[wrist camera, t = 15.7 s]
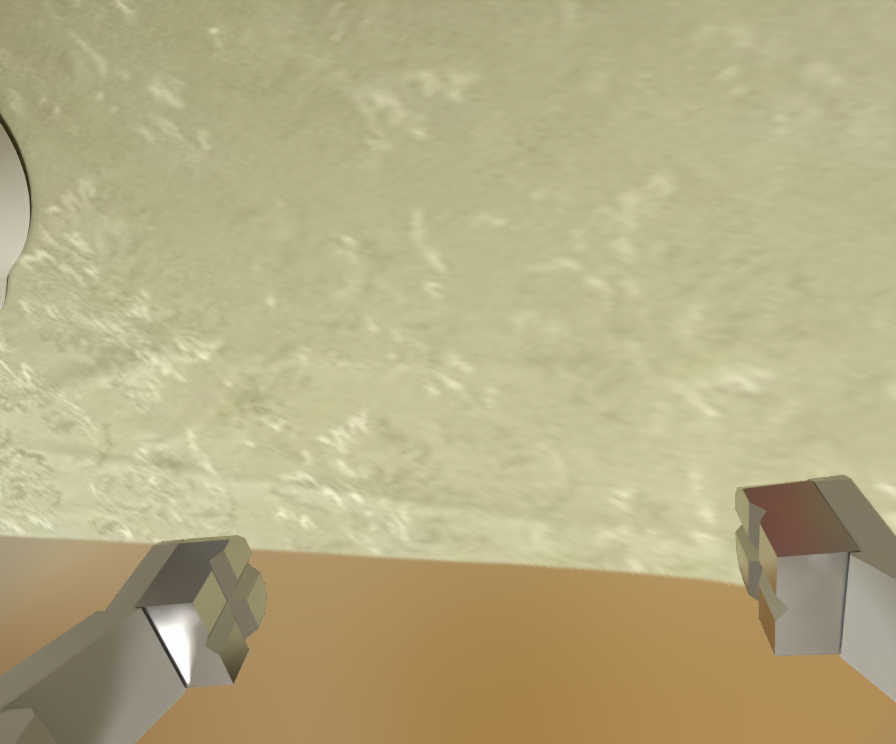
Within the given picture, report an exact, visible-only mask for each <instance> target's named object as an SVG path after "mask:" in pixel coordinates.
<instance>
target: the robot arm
mask: <svg viewBox="0 0 896 744" xmlns="http://www.w3.org/2000/svg"><path fill="white" fill-rule="evenodd" d="M29 222H30V202H29V193H28V188H27V183H26V179H25V175H24V172H23V168H22V165H21V163H20V160H19V157H18V155H17V153H16V150H15V148H14V146H13V144H12V142H11V140H10V138H9V136H8V135H7V133H6V131H5V130H4V128H3V126H2V125H1V123H0V309H1V308H2V306H3V304H4V301H5V295H6V285H7V276H8V274H9V271H10V269H11V268H12V266H13V265H14V263H15V262H16V260H17V259H18V257H19V255H20V254H21V252H22V250H23V247H24V245H25V242H26V239H27V235H28V230H29ZM735 510H736V512H737V514H738V516H739V518H740V521H741V523H742V525H741V526H740V527H739V528H738V530H737V531H736V532H735V534H736V552H737V558H738V564H739V569H740V572H741V575H742V578H743V582H744V584H745V587H746V589H747V591H748V594H749V595H750V596H752V597H753V598H755V599H756V600H758V601H759V620H760V622H761V625H762V627H763V629H764V632H765V634H766V636H767V639H768V641H769V643H770V646H771V648H772V650H773V652H774V655H775V656H786V655H823V654H841V658H842V659H844V660H845V661H846V662H847V663H848V664H850V665H851V666H852V667H853V668H855V669H856V670H857V671H858V672H860V673H861V674H862V675H863V676H864V677H866V678H867V679H868V680H869V681H871V682H872V683H873V684H874V685H875V686H877V687H878V688H879V689H880V690H882V691H883V692H884V693H885V694H886V695H888V696H889V697H890V698H891V699H893V700H894V701H895V702H896V535H895V534H894V533H893V531H892V530H891V529H890V528H889V526H888V525H887V524H886V522H885V521H884V520H883V519H882V517H881V516H880V515H879V514H878V512H877V511H876V510H875V509H874V507H873V506H872V505H871V503H870V502H869V501H868V500H867V498H866V497H865V496H864V495H863V493H862V492H861V491H860V489H859V488H858V487H857V486H856V484H855V483H854V482H853V481H852V479H851V478H849V477H847V476H845V475H838V476H830V477H821V478H813V479H808V480H806V481H795V482H785V483H775V484H765V485H755V486H746V487H737V490H736V495H735ZM251 554H252V552H251V550H250V548H249V546H248V544H247V542H246V539H245V538H243V537H240V536H238V535H234V536H220V537H206V538H193V539H186V540H171V541H162V542H159V543H157V544H155V545H153V547H152V548H151V549H150V551H149V552H148V553H147V555H146V556H145V557H144V559H143V560H142V561H141V563H140V564H139V565H138V567H137V568H136V569H135V571H134V572H133V574H132V575H131V576H130V578H129V579H128V580H127V581H126V583H125V584H124V586H123V587H122V588H121V590H120V591H119V592H118V594H117V595H116V596H115V598H114V599H113V600H112V602H111V603H110V604H109V606H108V607H107V608H106V610H105V611H96V612H95V613H93V614H92V615H90V616H89V617H88V618H86V619H84V620H83V621H82V622H80V623H79V624H77V625H76V626H74V627H73V628H71V629H70V630H68V631H67V632H65V633H64V634H62V635H61V636H59V637H58V638H56V639H55V640H53V641H52V642H50V643H49V644H47V645H46V646H44V647H43V648H41V649H40V650H38V651H37V652H35V653H34V654H32V655H31V656H29V657H28V658H26V659H25V660H23V661H22V662H20V663H19V664H17V665H16V666H14V667H13V668H11V669H10V670H8V671H7V672H5V673H4V674H2V675H1V676H0V744H135V743H136V742H137V740H139V738H140V737H141V736H142V735H143V734H144V733H145V732H146V731H147V730H148V729H149V728H150V727H151V726H152V725H153V724H154V723H155V722H156V721H157V720H158V719H159V718H160V717H161V716H162V715H163V714H164V713H165V712H166V711H167V710H168V709H169V708H170V707H171V706H172V705H173V704H174V703H175V702H176V701H177V700H178V699H179V698H180V697H181V696H182V695H183V694H184V693H185V692H186V688H191V687H192V688H193V687H204V686H216V685H228V684H234V682H235V680H236V678H237V675H238V673H239V671H240V669H241V666H242V664H243V662H244V660H245V658H246V656H247V653H248V651H249V648H248V645H247V643H246V639H247V638H248V637H249V636H250V635H251V634H252V633H254V632H255V631H256V630H257V629H258V628H259V627H260V624H261V622H262V619H263V617H264V614H265V609H266V600H267V594H266V588H265V583H264V580H263V578H262V575H261V573H260V572H259V571H258V570H256V569H255V568H254V567H252V566H251V565H250V564H248V562H249V559H250V557H251Z"/></svg>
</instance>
